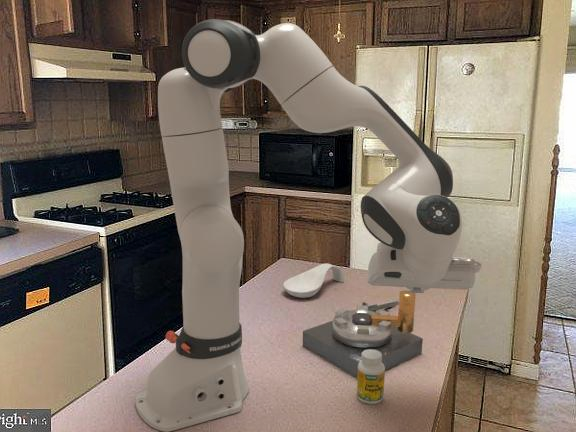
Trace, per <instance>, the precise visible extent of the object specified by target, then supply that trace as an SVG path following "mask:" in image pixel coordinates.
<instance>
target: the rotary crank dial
mask: <svg viewBox="0 0 576 432" xmlns="http://www.w3.org/2000/svg"><path fill="white" fill-rule="evenodd" d="M416 295H417V293H409V290H401V291H399V299H398V302H399V304H398V314H397V315H391V313H388V312H387V311H386V310H384V309H382V310H377V311H376V312H373V311H368V306H363V305H362V304H361V305H359V304H357V305H356V309H351V310H348V309H346V308H343V307H340V308H338V309H337V310H335V312H334V316H333V318H332V321H333V336H334V337H335V338H336V339H337V340H338V341H340V342H342V343H344V344H347V345H351V346H355V347H366V348H367V347H378V346H382V345H385V344H387V343H388V342H389V341H390V340H391V339H392V328H393V326H396V327H398V328H397V329H398V330H399V331H400V332H403V333H413V332H414V325H415V323H414V322H415V309H416Z"/></svg>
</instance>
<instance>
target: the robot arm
mask: <svg viewBox="0 0 576 432" xmlns="http://www.w3.org/2000/svg"><path fill="white" fill-rule="evenodd" d="M181 58H182V63H183V65H184V67H179V68H175V69H172V70H170V71H168V72H167V73H165V74H164V75H163V76H161V78H160V80H159V82H158V86H157V108H158V109H157V111H158V122H159V128H160V129H159V130H160V134H161V135H160V136H161V140H162V145H163V152H164V153H163V154H164V158H165V162H166V168H167V174H168V180H169V186H170V191H171V198H172V203H173V209H174V216H175V221H176V226H177V233H178V235H179V240H180V243H181V244H180V245H181V253H182V286H181V287H182V290H181V297H182V319H183V321H182V322H183V326H182V328H181V330H180V333H179V334H177V333H176V332H175V331H174V330H168V331H167V332H166V334H165V340H166V341H167V342H169V343H170V344H175V347H174V349H172V350H171V352H169V353H168V354H167V355H166V357H164V359H162V360H161V361H160V363H159V362H158V364H157V365H156V366H155V367H154V368H153V369H152V370H151V371H150V372H149V375H148V378H147V382H146V383H147V384H146V389H145V390H143V391H141V392H138V393H137V395H136V397H135V403H134V404H135V410H136V411H137V413H138V415H139V416H140V417H141V419H142V420H143V422H144V423H146V424H147V425H148V426H150V427H152V428H153V429H155V430H157V431H161V432H172V431H176V430H180V429H183V428H184V429H185V428H188V427H191V426H194V425H198V424H200V423H204V422H208V421H211V420H215V419H219V418H223V417H226V416H230V415H233V414H236V413H237V414H238V413H239V412H241V411H242V409H243V401H244V400H245V398H246V396H247V395H248V393H249V384H248V382H247V379H246V375H245V371H244V367H243V359H242V351H241V348H242V344H243V333H242V331H243V330H242V329H243V328H242V324H241V323H240V284H241V283H240V282H241V279H242V278H241V275H242V271H243V269H242V267H243V257H244V256H243V255H244V250H245V239H244V232H243V229H242V228H241V226H240V224H239V223H238V221H237V220H236V218H235V217H234V214H233V212H232V206H231V205H232V204H231V198H230V197H231V196H230V194H231V193H230V181H229V180H230V179H229V178H230V177H229V174H230V173H229V172H230V170H229V169H230V168H229V163H228V161H229V160H228V156H227V155H228V154H227V148H226V142H225V141H226V140H225V135H224V129H223V122H222V116H221V108H220V107H221V105H220V104H221V99H222V95H223V94H224V93H228V92H230V91H232V90H234V89H237V88H238V87H241V86H243V85H245V84H247V83H249V82H250V81H251V80H257V81H259V82H261V83H262V84H264V85H265V86H266V88H268V90H269V91H270V92H271V93H272V95H273V96H274V98H275V99H276V101H277V102H278V104H279V105H280V106H281V108H282V109H283V110H284V112H285V113H286V114H287V116H288V117H289V118H290V120H291V121H292V122H293V123H294V124H295V125H296V126H297V127H298V128H300V129H301V130H303V131H306V132H310V133H315V134H324V133H325V134H326V133H332V132H333V133H334V132H336V131H340V130H344V129H347V128H354V127H358V128H359V127H360V128H364V129H367V130H369V131H370V132H372V133H373V134H374V135H375V136H376V137H377V139H378V140H379V141H380V142H382V144H383V145H384V146H385V147H386V148H387V149H388V151H390V152H391V153H392V154H393V155H394V156H395V157H396V158H397V160H398V167H397V168H395V169H394V170H393V171H392V172H391V173H389V175H387V176H386V177H385V178H383V179H382V180H380V181H379V182H378V183H377V184H376V185H374V186H373V188H371V189H370V190H369V191H368V192H366V194H364V195H363V196H362V198H361V201H360V214H361V219H362V223H363V225H364V227H365V228H366V231H368V233H369V234H370V235H371V236H372V237H374V238H375V240H377V241H378V244H377V246H376V247H377V248H376V252H374V253H373V254H372V255H371V257H370V260H369V263H368V267H367V283H368V284H369V285H371V286H373V287H375V286H376V287H394V288H395V287H398V288H406V289H408V291H409V293H415V294H425V293H424V292H425V291H427V290H430V289H441V290H442V289H445V290H466V291H467V290H470V289H472V288H473V287H474V286H475V283H476V273H478V272H480V271H481V268H482V263H481V262H480V261H476V259H474V258H471V257H464V256H463V257H462V256H454V253H455V252H456V251H457V248H458V245H459V242H460V239H461V235H462V230H463V229H462V228H463V220H462V215H461V212H460V209H459V206H457V204H456V203H455V202H454V201H453V200H452V199H451V198H449V196H451V194H452V192H453V187H454V176H453V175H454V174H453V170H452V168H451V166H450V165H449V163H448V162H447V161H446V160H445V158H443V157H442V156H441V155H439V154H438V153H437V152H436V151H434V150H433V149H432V148H430V147H429V146H428V145H427V144H426V143H424V141H423V139H421V138H420V136H419V135H417V134H416V133H415V131H414V130H412V129H411V128H410V126H409V125H408V124H407V123H406V122H405V121H404V120H403V119H402V118H401V117H400V116H399V114H397V113H396V111H395V110H393V108H392V107H391V106H390V105H389V104H387V102H386V101H385V100H383V99H384V98H382V97H380V95H379V94H377V93H376V92H375V91H374V90H373V89H371V88H370V87H368V86H365V85H356V84H354V83H352V82H350V81H349V80H348V79H346V78H345V77H344V76H342V74H340V73H339V71H338V70H337V69H336V68H335V66H334V65H333V64H332V62H331V61H330V60H329V59H328V58H329V57H327V55H326V54H325V53H324V52H323V50H322V49H321V48H320V47H319V46H318V45H317V44H316V42H315V41H314V40H313V39H312V38H311V37H310V36H309V35H308V34H307V33H306V32H305V30H303V29H302V28H301V27H300V26H299V25H296V24H294V23H289V22H284V23H280V24H276V25H274V26H272V27H270V28H268V29H267V30H266V31H264V32H263V33H262V34H256V33H255V32H254V31H253V30H251V29H250V28H249V27H246V26H244V25H243V24H241V23H238V22H236V21H233V20H228V19H226V20H225V19H219V18H212V19H211V18H210V19H206V20H203V21H200V22H199V23H197V24H195V25H194V26H193V27H191V28H190V29H189V31H188V32H187V34H186V35H185V37H184V39H183V42H182V47H181Z"/></svg>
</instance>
